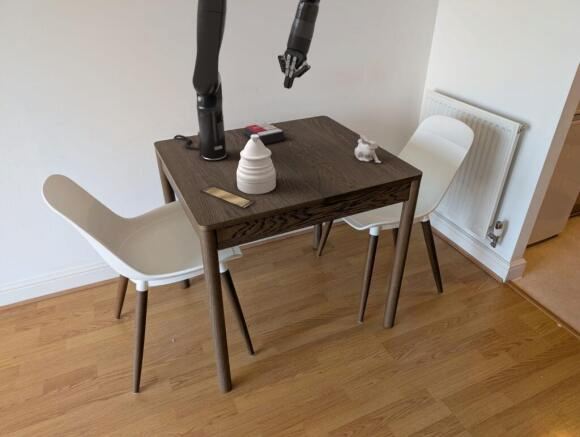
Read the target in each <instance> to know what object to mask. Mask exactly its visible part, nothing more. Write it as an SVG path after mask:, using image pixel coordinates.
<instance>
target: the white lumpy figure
mask: <svg viewBox="0 0 580 437" xmlns="http://www.w3.org/2000/svg"><path fill="white" fill-rule="evenodd" d="M357 143H358V145H357V146H356V147H355V148H354V156H355V158H356V159H357V160H359V161H362V162H363V161H364V162H370V161H373V160H374V163H376V164H377V163H378V164H381V163H382V161H381V160H379V158H378V155H377V154H376V150H377V149H379V148H378V147H379V145H378V143H377V142H376V141H375V140H370V139H368V138H367V137H366V136H365V135H364V134H360V135H359V139H358V140H357Z"/></svg>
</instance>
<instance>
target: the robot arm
mask: <svg viewBox="0 0 580 437" xmlns="http://www.w3.org/2000/svg"><path fill="white" fill-rule="evenodd" d="M320 3H321V0H299V1H298V4H297V7H296V11H295V14H294V18H293V21H292V24H291V27H290V31H289V35H288V39H287V42H286V49H285V50H284V53H283V54H278V56H277V60H278V64H279V67H280V70H281V73H283V75H284V76H285V77H284V80H283V88H284V89H287V90H290V89H291V88H292V87H293V84H294V82H295V79H297V78H299V79H300V78H301V77H302V76H303V75H304V74H305V73H307V72H308V71H310V69H311V65H310V64H309V63H308V62H307V61H308V53H309V51H310V48H311V44H312V41H313V37H314V33H315V29H316V28H315V26H316V23H317V20H318V15H319V11H320ZM196 8H197V9H196V54H195V55H196V56H195V62H194V69H193V74H192V80H191V81H192V82H191V83H192V86H193V89H194V91H195V92H196V115H197V124H198V131H197V138H198V144H197V147H195V146H191V145H189V144H190V143H191V139H190V138H189V137H188V136H185V135H182V134H176V135H175V136H174V137H173V139H174V140H175V139H177V138H182V139H184V140H186V142H185V143H184V147H185V148H187V149H189V150H195V151H199V154H200V157H201V158H202V159H203V160H205V161H211V162H215V161H221V160H224V159H225V158H227V157H228V153H227V144H226V132H225V119H224V107H223V105H224V101H223V100H224V99H223V98H224V97H223V86H222V76H221V73H220V71H219V59H220V53H221V49H222V48H221V47H222V44H223V39H224V35H225V29H226V22H227V13H228V12H227V11H228V0H197V6H196Z"/></svg>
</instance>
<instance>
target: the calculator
mask: <svg viewBox="0 0 580 437" xmlns="http://www.w3.org/2000/svg"><path fill="white" fill-rule="evenodd" d="M244 134H245V136H247V137H249V138H251V135H254V134H257V135H259V139H260V140H261V141H262V143H263V144H264V145H267V144H271V143H276V142H279V141H285V131H283V130H282V129H280V128H278V127H277V126H274V125H272V124H271V123H268V122H261V123H257V124H251V125H247V126H245V127H244Z"/></svg>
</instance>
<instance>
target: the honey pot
mask: <svg viewBox="0 0 580 437" xmlns="http://www.w3.org/2000/svg"><path fill="white" fill-rule="evenodd" d="M239 155H240V160H239V161H238V166H237V168H236V186H237V189H238V190H239V191H241V193H245V194H250V195H261V194H266V193H270V192H271V191H273V190H274V189H276V185H277V180H276V179H277V178H276V176H277V175H276V168H275V167H274V163H273V160H272V159H271V156H272V151H271V149H269V148H268V147H266V146H265V144H263V143H262V141H261V140H260V139H259V135H257V134H254V135H251V137H250V139H248V141H247V143H246V144H245V146H244V148H243V149H242V150H241V151H240V153H239Z"/></svg>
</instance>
